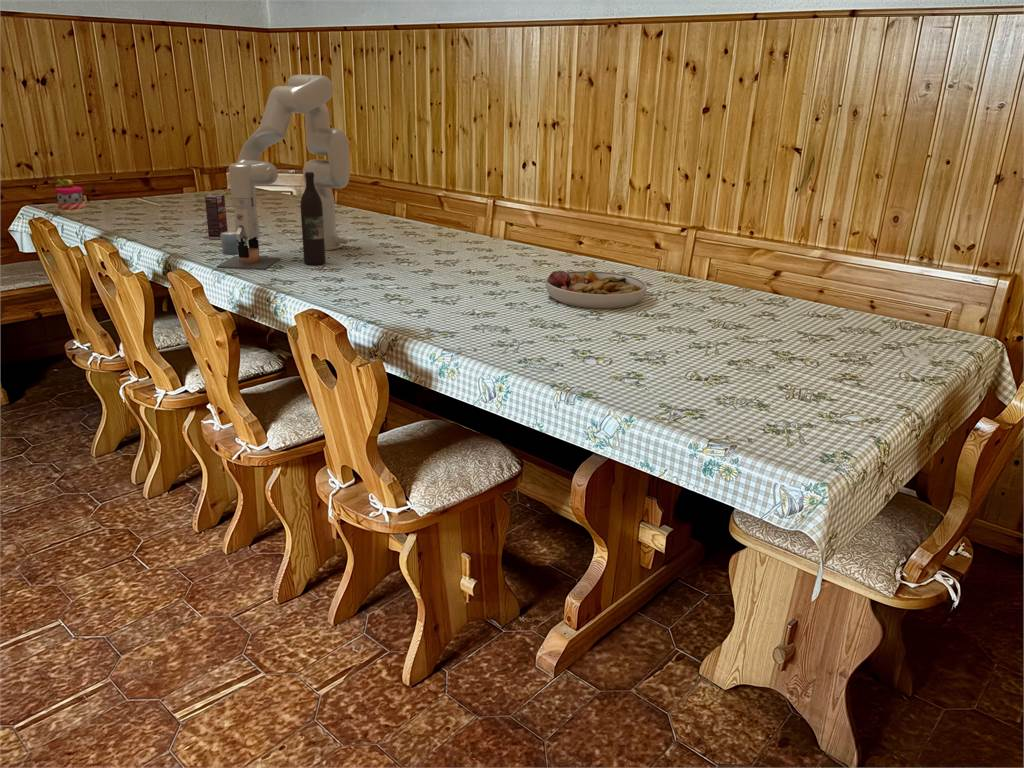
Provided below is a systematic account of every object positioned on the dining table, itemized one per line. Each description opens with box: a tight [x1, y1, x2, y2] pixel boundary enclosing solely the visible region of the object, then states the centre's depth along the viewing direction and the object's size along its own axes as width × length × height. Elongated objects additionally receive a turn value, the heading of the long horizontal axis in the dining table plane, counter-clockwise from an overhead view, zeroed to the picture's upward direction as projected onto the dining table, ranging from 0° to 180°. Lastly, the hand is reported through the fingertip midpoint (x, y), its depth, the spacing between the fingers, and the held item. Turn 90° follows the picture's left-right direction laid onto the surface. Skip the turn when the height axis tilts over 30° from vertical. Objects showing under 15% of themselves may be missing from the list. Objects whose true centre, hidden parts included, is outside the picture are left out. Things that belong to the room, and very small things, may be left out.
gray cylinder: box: [220, 231, 238, 255], centre depth 278 cm, size 6×6×7 cm
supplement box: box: [204, 193, 229, 240], centre depth 302 cm, size 9×5×16 cm, turn 179°
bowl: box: [544, 269, 648, 310], centre depth 234 cm, size 30×30×8 cm
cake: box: [54, 178, 86, 216], centre depth 343 cm, size 10×11×15 cm
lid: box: [237, 247, 261, 264], centre depth 263 cm, size 7×7×4 cm
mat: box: [216, 255, 282, 271], centre depth 264 cm, size 16×16×1 cm
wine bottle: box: [300, 172, 326, 266], centre depth 262 cm, size 7×7×30 cm
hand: (249, 254), depth 263 cm, fingers open, 9 cm apart
